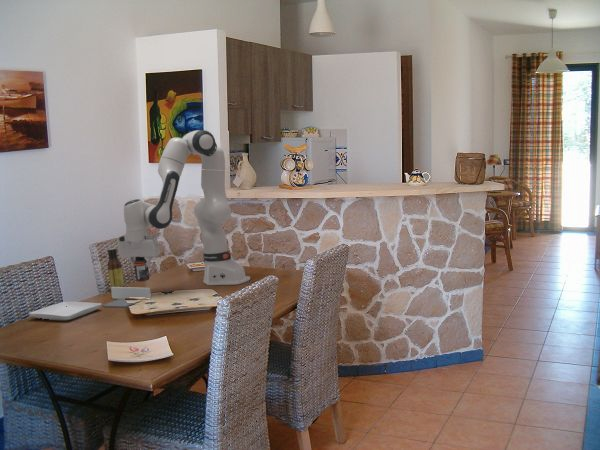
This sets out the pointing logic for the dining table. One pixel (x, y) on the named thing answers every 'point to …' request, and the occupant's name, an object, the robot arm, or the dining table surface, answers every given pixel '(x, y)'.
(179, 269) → the dining table surface
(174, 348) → the dining table surface
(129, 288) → the acrylic wall
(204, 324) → the dining table surface
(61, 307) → the salad plate
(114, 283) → the sauce bottle
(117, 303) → the rubber mat
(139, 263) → the supplement bottle
